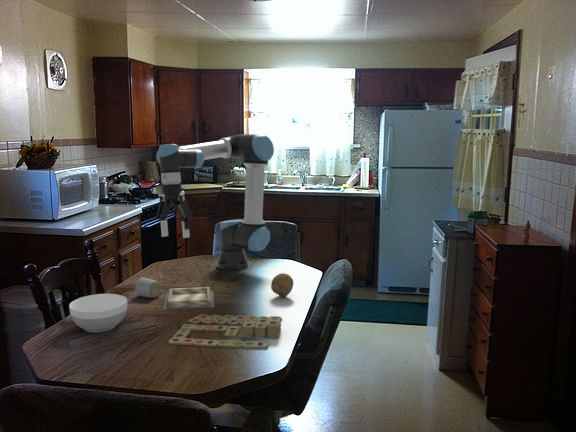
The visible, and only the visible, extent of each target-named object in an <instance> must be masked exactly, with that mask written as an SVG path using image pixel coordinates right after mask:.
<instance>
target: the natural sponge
mask: <svg viewBox="0 0 576 432" xmlns="http://www.w3.org/2000/svg"><path fill="white" fill-rule="evenodd" d="M293 279H294V278H292V276H291V275H290V274H288V273H284V272H283V273H279V274H277V275H275V276H274V277H273V278H272V280H271V284H270V288H271V292H273V293H274V294H276V295H278V296H279V297H281V298H286V297H287V296H288V295H290V294H291V292H292V290H293V288H294V280H293Z"/></svg>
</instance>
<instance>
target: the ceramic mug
mask: <svg viewBox="0 0 576 432" xmlns="http://www.w3.org/2000/svg"><path fill="white" fill-rule="evenodd" d="M134 292H135V294H136V295H137V296H138V297H142V298H148V299H155V298H158V297H159V295H160V294H162V293H163V289H162V285H161V282H159V281H158V280H155V279H150V278H147V277H144V276H143V277H139V278H138V279H137V280H136V283H135V286H134Z"/></svg>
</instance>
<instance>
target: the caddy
mask: <svg viewBox="0 0 576 432" xmlns="http://www.w3.org/2000/svg"><path fill="white" fill-rule="evenodd" d="M210 291H211V289H210V286H209V287H208V286H204V287H202V286H201V287H184V288H183V287H182V288H169V292H168V293H169V297H168V308H172V307H193V306H210Z"/></svg>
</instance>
